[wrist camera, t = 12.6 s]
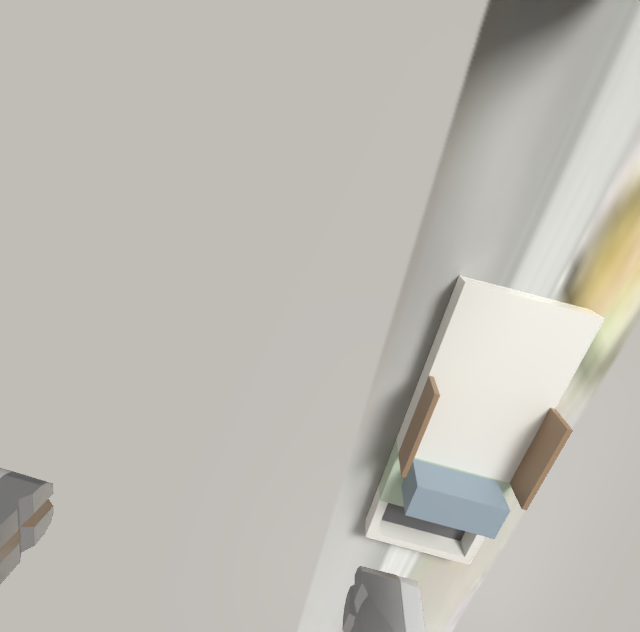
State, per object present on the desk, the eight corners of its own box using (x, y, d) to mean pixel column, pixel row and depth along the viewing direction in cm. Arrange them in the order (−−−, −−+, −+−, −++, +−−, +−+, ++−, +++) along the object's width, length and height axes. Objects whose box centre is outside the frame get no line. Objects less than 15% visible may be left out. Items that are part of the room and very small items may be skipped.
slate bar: (412, 458, 43) (417, 486, 39) (497, 481, 43) (510, 510, 39) (401, 486, 44) (405, 515, 41) (483, 508, 44) (494, 539, 41)
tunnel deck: (459, 275, 38) (475, 293, 33) (589, 309, 38) (629, 333, 32) (365, 519, 50) (365, 564, 44) (464, 546, 50) (477, 594, 44)
